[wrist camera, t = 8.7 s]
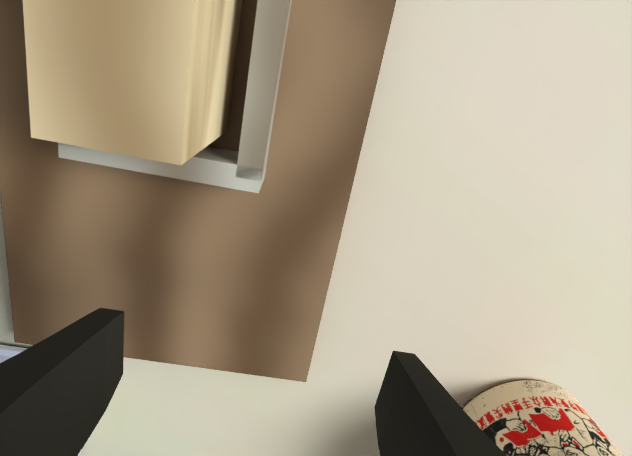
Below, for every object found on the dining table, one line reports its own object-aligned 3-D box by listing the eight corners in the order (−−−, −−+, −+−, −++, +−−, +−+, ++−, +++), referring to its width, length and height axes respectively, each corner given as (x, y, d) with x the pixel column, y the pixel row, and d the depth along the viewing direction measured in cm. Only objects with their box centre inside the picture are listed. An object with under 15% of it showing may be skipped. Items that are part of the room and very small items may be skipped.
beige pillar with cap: (135, 112, 17) (30, 137, 11) (142, -126, 14) (4, -293, 8) (227, 130, 18) (181, 165, 11) (253, -98, 15) (211, -235, 8)
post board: (26, 330, 22) (-89, 437, 16) (-33, -406, 12) (-413, -943, 6) (305, 369, 24) (305, 482, 17) (452, -260, 14) (584, -558, 7)
